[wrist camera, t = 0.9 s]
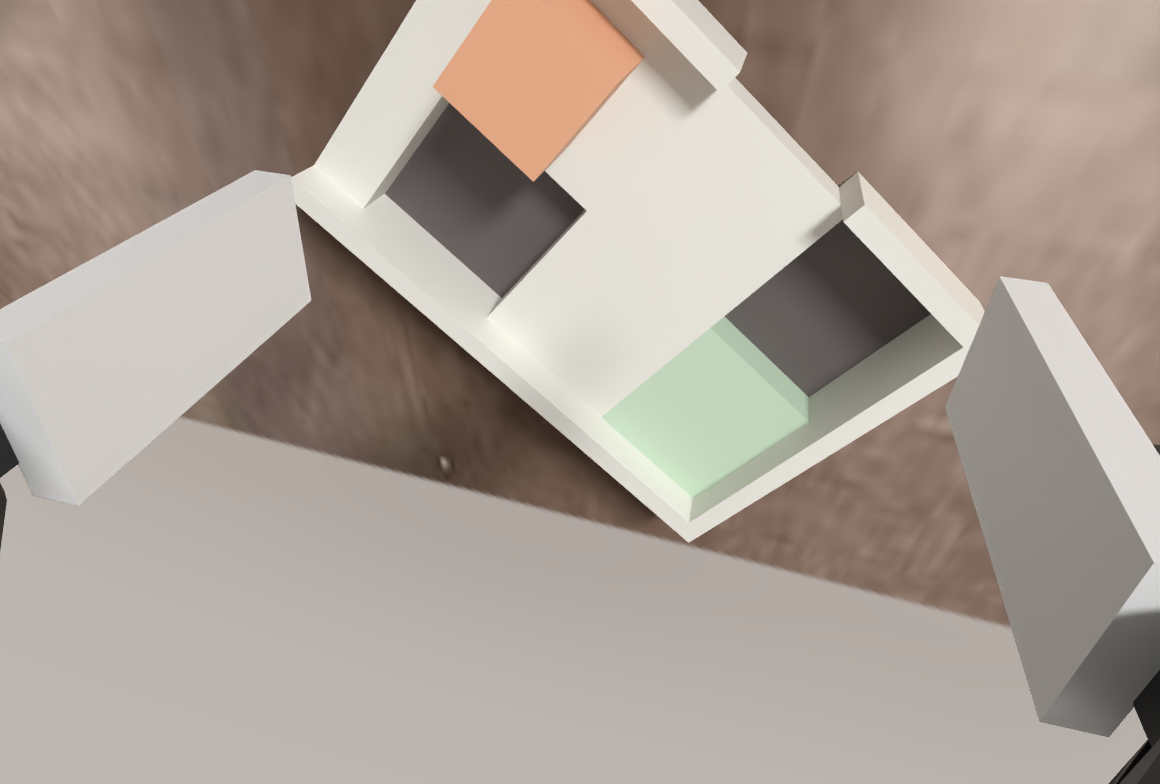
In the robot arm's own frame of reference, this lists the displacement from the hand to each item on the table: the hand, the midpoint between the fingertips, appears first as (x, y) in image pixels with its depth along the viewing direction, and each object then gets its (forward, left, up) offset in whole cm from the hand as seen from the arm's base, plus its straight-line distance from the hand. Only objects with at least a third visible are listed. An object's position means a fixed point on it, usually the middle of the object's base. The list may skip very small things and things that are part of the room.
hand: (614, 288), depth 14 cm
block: (-5, -4, -19) cm, 20 cm away
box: (+2, -8, -22) cm, 23 cm away
